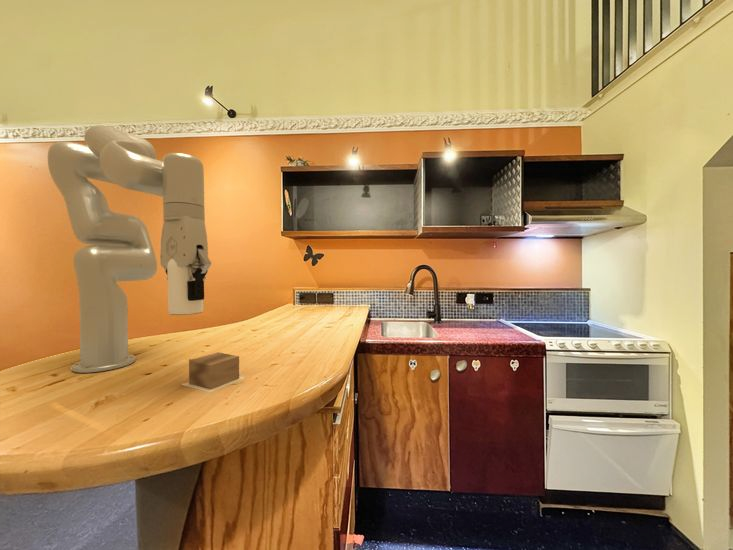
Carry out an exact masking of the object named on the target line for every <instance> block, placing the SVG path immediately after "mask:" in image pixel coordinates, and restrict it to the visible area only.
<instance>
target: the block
mask: <svg viewBox="0 0 733 550" xmlns="http://www.w3.org/2000/svg"><path fill="white" fill-rule="evenodd" d="M239 376H240V356H238V355H234V354H230V353H223V352H215V353H211V354H208V355H203V356H200V357H196V358H193V359H189V360H188V382H189V384H192V385H196V386H199V387H203V388H207V389H210V390H211V389H214V388H216V387H219V386H221V385H224V384H226V383H229V382H231V381H234V380H236V379H239Z"/></svg>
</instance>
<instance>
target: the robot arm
mask: <svg viewBox="0 0 733 550" xmlns="http://www.w3.org/2000/svg"><path fill="white" fill-rule="evenodd" d="M83 139H84V142H85V144H81V143H77V142H72V141H64V140H63V141H57V142H54V143H53V144H51V146H50V147H49V149H48V151H47V167H48V171H49V173H50V178H51V179H52V181H53V183H54V185H55V186H56V188H57V189H58V190H59V193H60V194H61V196H62V197H63V199H64V202H65V206H66V209H67V214H68V218H69V221H70V225H71V229H72V232H73V235H74V236H75V238H76V239H77V241H78V242H80V243H82V244H85V245H86V246H83V247H80V248H79V249H78V250H77V251H75V253H74V255H73V260H72V263H73V264H72V265H73V268H74V273H75V277H76V281H77V288H78V301H79V302H78V307H79V346H80V347H79V361H78V362H74V363H73V364H72V365H71V371H72V372H74V373H79V374H80V373H81V374H83V373H85V374H87V373H98V372H105V371H110V370H111V371H112V370H115V369H119V368H122V367H126V366H129V365H132V364H133V363H134V362H135V361H136V356H135V355H134V354H129V331H128V330H129V322H128V321H129V316H128V315H129V314H128V312H129V311H128V308H129V307H128V306H129V305H128V296H127V294H126V292H125V290H123V289H122V288H121V287H120V286H119V284H118V282H137V281H147V280H150V279H152V278H153V277H154V276H155V275H156V273H157V270H158V262H157V257H156V254H155V250H154V248H153V244H152V240H151V238H150V235H149V231H148V228H147V226H146V224H145V222H144V221H143V220H141V218H139V217H137V216H135V215H131V214H125V213H124V214H123V213H119V212H114V211H112V210H111V209H110V207H109V203H108V200H107V197H106V196H105V194H104V193H103V192H102V191H101V190H100V189H99V188H98V187H97V186H96V185H95V184H93V182H91V181H90V180H95V181H99V182H100V181H101V182H105V183H109V184H113V185H118V186H119V187H121V188H123V189H125V190H126V189H127V190H129V191H135V192H140V193H144V194H150V195H154V196H156V197H157V196H158V197H162V208H163V210H162V213H163V216H162V217H163V224H162V229H161V237H160V251H159V252H160V253H159V254H160V256H159V257H160V260H159V261H160V266H161V267H162V268H163V270H164V271H165V273H166V275H167V265H168V262H169V261H170V260H171V259H173V260H174V261H175V262H176V263H177V266H178V267H180V268H183V267H187V266H188V275H189V279H190V281H187V286H188V300H189V301H195V300H203V301H204V300H205V281H206V278H207V277H206V276H207V273H208V270H209V269H210V267H211V265H212V262H211V260H210V259H209V245H208V235H207V228H206V219H205V217H206V216H205V215H206V214H205V211H206V210H205V178H204V177H205V175H204V173H205V172H204V171H205V170H204V164H203V162H202V160H201V159H199V158H198V157H196V156H193V155H191V154H186V153H182V152H170V153H167V154H165V155H164V156H163V158H162V160H160V159H159V160H158V159H157V153H156V149H155V148H154V146H153V145H152V143H151V142H150V141H148V140H147V139H144V138H142V137H141V136H137V135H134V134H132V133H128V132H126V131H123V130H120V129H119V128H118V129H117V128H115V127H111V126H109V125H102V124H101V125H100V124H99V125H93V126H91V127H89V128H87V129H86V131H85V133H84V138H83ZM89 179H90V180H89ZM172 256H173V257H172ZM171 257H172V258H171ZM192 263H199V266H191V264H192ZM193 269H196V271H195V273H194V271H193ZM166 280H167V281H168V277H166Z"/></svg>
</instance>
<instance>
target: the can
mask: <svg viewBox="0 0 733 550" xmlns="http://www.w3.org/2000/svg"><path fill="white" fill-rule="evenodd" d="M172 257H173V256H172ZM172 257H171V258H172ZM191 266H199V263H192V264H191ZM193 271H194V273H195V271H196V269H193ZM166 276H167V277H168V280H167V307H168V308H167V313H168V314H169V315H170V316H188V315H189V316H190V315H191V316H192V315H196V314H201V313H203V312H204V309H205V308H204V299H203V300H195V301H189V300H188V286H187V281H190V279H189V275H188V266H187V267H183V268H180V267H178V266H177V263H176V262H175V261H174V260H173V259H171V260H170V261H169V262H168V265H167V274H166ZM167 277H166V278H167Z"/></svg>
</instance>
